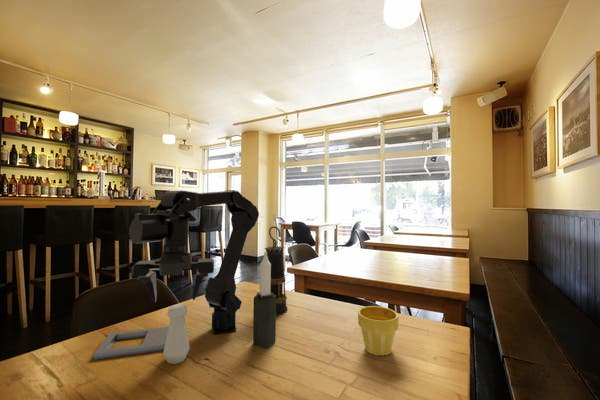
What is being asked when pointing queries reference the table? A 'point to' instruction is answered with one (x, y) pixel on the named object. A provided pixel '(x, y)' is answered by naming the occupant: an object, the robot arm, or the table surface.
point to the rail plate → (151, 343)
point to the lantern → (277, 274)
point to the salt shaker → (176, 335)
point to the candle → (264, 309)
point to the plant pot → (378, 328)
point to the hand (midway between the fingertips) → (174, 300)
